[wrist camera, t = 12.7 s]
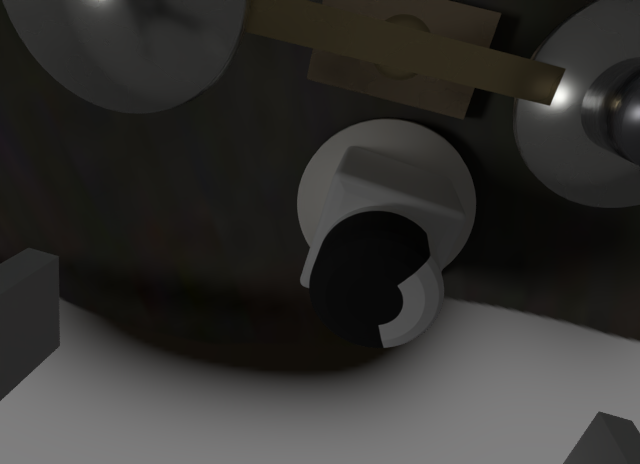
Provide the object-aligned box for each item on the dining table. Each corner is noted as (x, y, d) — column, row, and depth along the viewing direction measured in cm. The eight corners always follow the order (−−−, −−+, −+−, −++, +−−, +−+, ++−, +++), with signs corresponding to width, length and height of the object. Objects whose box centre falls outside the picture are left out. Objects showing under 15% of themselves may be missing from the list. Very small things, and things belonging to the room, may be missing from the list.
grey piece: (317, 238, 32) (276, 337, 21) (348, 143, 29) (319, 200, 18) (412, 270, 32) (421, 387, 21) (453, 178, 29) (488, 257, 18)
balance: (218, 62, 30) (-1, 80, 13) (233, -60, 27) (-21, -229, 10) (553, 149, 28) (768, 287, 12) (606, 31, 26) (982, 2, 9)
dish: (286, 255, 34) (282, 262, 33) (321, 97, 29) (318, 98, 28) (439, 298, 34) (440, 306, 32) (500, 144, 29) (505, 147, 28)
